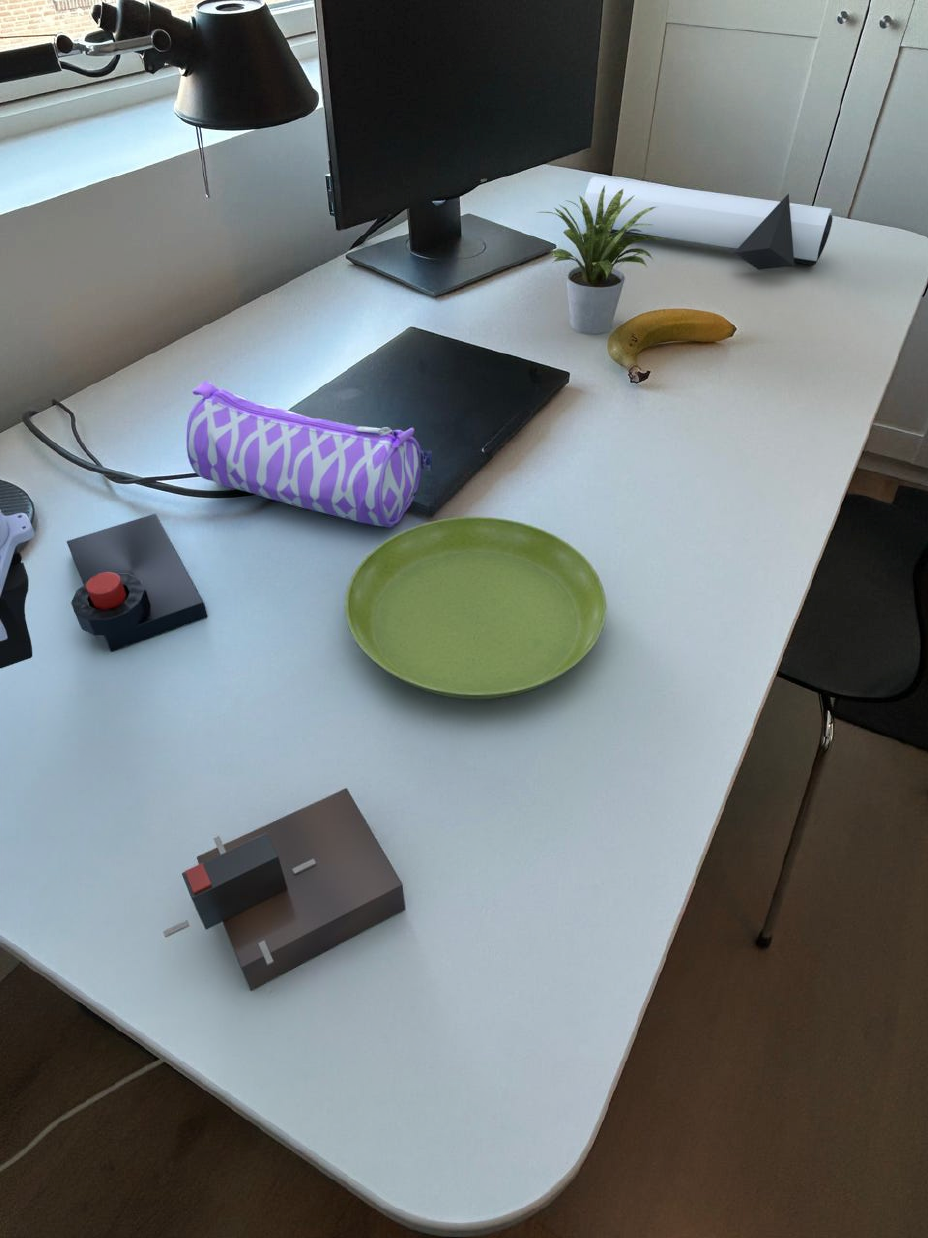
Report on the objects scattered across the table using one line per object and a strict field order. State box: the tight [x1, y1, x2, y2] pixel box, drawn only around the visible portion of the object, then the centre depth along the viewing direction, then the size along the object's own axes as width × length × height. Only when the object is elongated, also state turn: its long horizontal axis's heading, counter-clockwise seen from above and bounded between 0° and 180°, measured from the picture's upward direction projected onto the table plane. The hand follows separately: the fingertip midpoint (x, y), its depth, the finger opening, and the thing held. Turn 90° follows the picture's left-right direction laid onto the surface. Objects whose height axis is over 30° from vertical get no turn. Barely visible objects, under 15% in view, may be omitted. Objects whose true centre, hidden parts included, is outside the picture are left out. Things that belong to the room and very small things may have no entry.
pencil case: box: [186, 380, 433, 528], centre depth 82 cm, size 22×9×10 cm, turn 70°
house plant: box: [537, 186, 666, 335], centre depth 105 cm, size 14×14×16 cm
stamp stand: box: [162, 787, 406, 992], centre depth 53 cm, size 13×9×3 cm
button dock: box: [66, 513, 209, 653], centre depth 74 cm, size 14×9×4 cm, turn 30°
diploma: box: [582, 175, 834, 271], centre depth 124 cm, size 35×9×14 cm
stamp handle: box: [181, 833, 287, 931], centre depth 50 cm, size 5×2×4 cm, turn 121°
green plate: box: [344, 516, 607, 700], centre depth 71 cm, size 21×21×3 cm
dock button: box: [86, 572, 126, 610], centre depth 69 cm, size 3×3×2 cm
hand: (14, 656), depth 55 cm, fingers closed
